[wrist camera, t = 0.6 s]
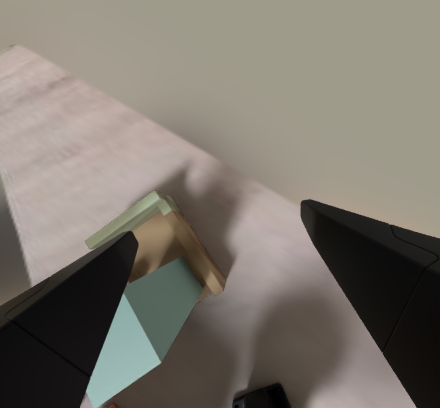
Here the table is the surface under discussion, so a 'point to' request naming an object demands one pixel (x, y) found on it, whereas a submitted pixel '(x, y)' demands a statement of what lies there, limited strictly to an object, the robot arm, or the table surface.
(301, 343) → the table surface
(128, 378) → the block
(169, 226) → the trap channel
